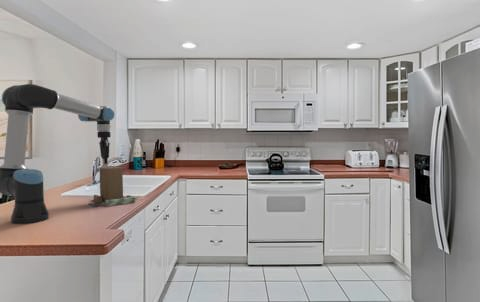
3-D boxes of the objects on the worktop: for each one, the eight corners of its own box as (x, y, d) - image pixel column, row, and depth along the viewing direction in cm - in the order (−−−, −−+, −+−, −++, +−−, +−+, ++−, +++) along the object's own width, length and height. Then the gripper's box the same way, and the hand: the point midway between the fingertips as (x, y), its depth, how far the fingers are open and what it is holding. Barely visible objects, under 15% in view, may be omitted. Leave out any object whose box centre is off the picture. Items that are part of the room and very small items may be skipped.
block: (115, 198, 212) (114, 166, 211) (123, 199, 206) (122, 166, 205) (99, 200, 205) (98, 167, 204) (108, 202, 198) (107, 168, 197)
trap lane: (95, 207, 184) (95, 202, 184) (83, 201, 204) (82, 196, 204) (143, 201, 201) (143, 196, 201) (127, 195, 221) (127, 190, 220)
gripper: (113, 131, 209) (115, 169, 211) (106, 131, 219) (108, 167, 221) (100, 131, 204) (102, 170, 206) (94, 131, 215) (96, 168, 216)
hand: (105, 168), depth 213 cm, fingers closed
